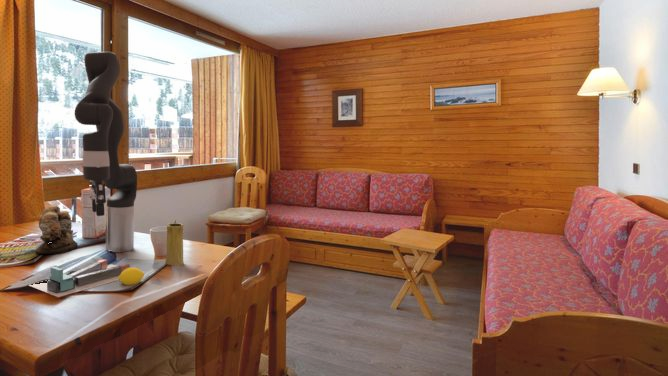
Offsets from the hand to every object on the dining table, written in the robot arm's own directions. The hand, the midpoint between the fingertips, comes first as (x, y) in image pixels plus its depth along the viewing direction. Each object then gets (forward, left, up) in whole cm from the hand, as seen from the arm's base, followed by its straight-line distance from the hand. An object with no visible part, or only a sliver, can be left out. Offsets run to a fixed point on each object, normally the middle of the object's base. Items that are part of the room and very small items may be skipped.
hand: (98, 213), depth 132 cm
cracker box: (-41, +25, -18) cm, 51 cm away
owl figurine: (-30, +3, -18) cm, 35 cm away
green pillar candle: (+17, +17, -18) cm, 30 cm away
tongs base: (+13, -10, -18) cm, 24 cm away
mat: (+10, -10, -18) cm, 23 cm away
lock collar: (+13, -19, -17) cm, 28 cm away
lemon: (+23, -4, -18) cm, 30 cm away
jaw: (+8, -8, -17) cm, 21 cm away
